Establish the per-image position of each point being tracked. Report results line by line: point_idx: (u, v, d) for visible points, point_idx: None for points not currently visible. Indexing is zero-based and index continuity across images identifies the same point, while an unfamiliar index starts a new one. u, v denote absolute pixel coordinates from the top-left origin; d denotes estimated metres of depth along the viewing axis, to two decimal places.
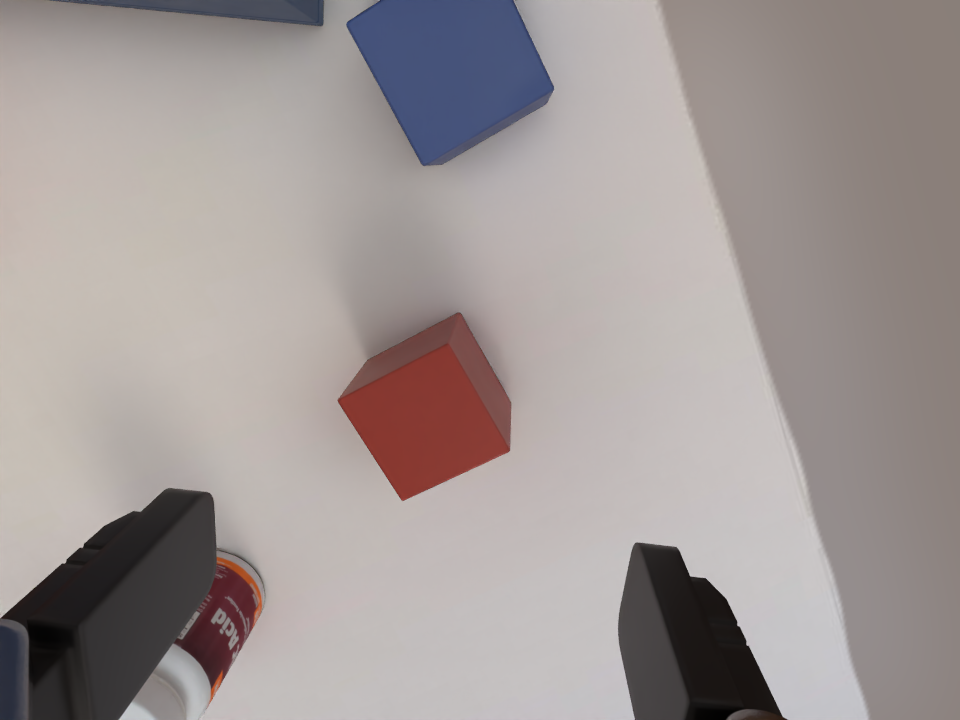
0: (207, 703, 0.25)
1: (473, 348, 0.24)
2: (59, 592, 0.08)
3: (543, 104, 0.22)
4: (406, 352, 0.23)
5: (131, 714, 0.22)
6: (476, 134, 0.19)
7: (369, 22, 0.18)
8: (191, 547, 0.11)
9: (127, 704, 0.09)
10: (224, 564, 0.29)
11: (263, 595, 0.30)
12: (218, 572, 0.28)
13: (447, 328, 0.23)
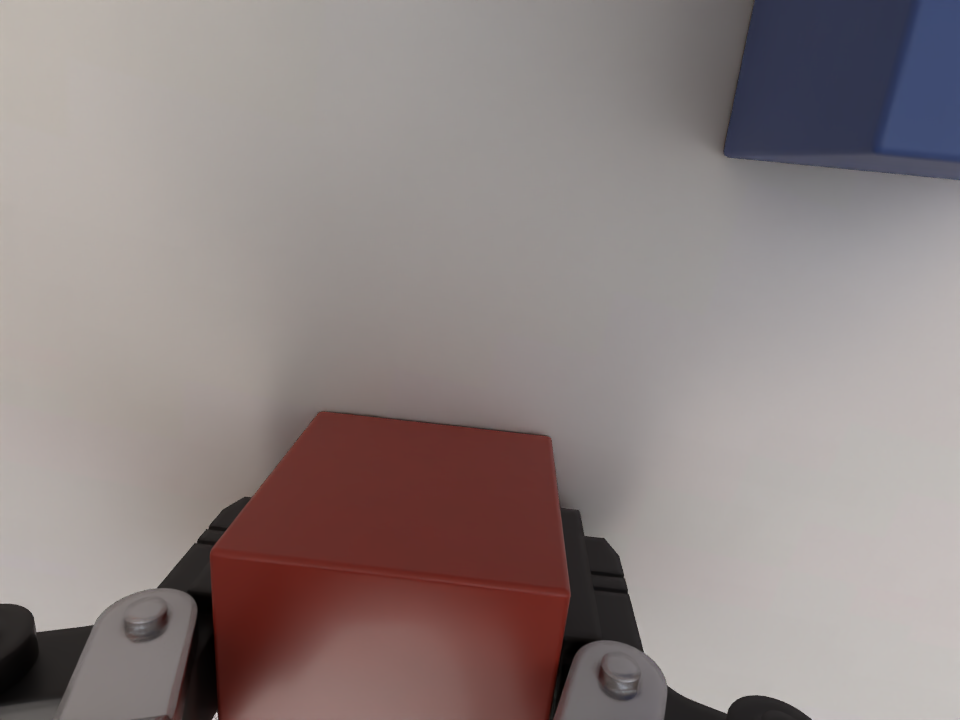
0: None
1: None
2: (208, 567, 0.09)
3: None
4: (429, 493, 0.09)
5: None
6: None
7: None
8: None
9: None
10: None
11: None
12: None
13: (538, 488, 0.10)
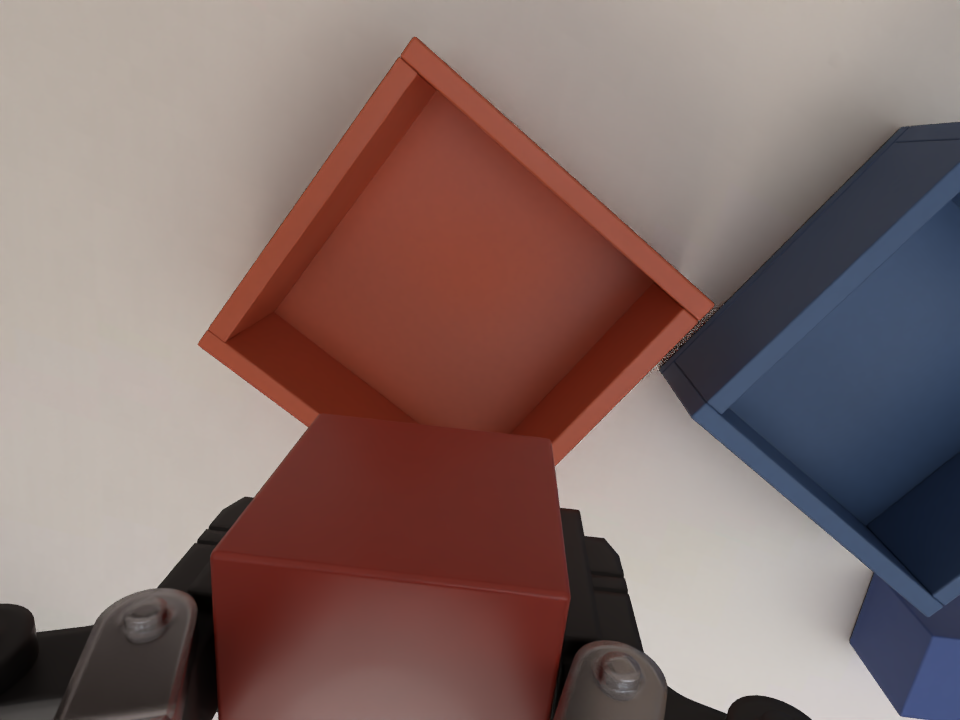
0: None
1: None
2: (208, 567, 0.09)
3: None
4: (429, 496, 0.09)
5: None
6: None
7: (945, 644, 0.27)
8: None
9: None
10: None
11: None
12: None
13: (538, 490, 0.10)
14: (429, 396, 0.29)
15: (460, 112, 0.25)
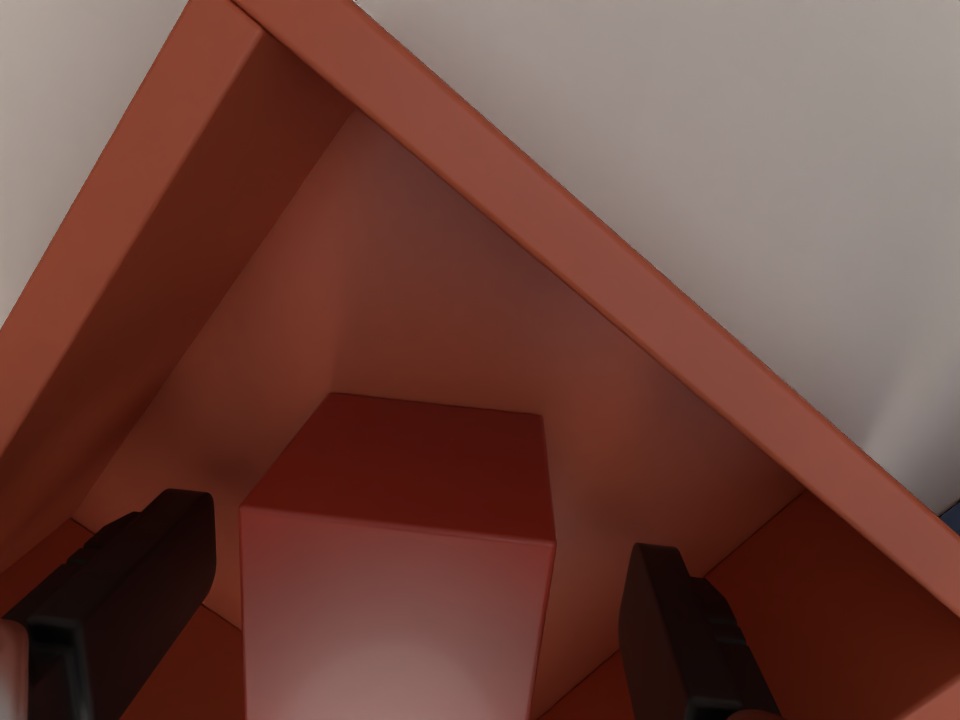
0: None
1: None
2: (59, 592, 0.08)
3: None
4: (431, 462, 0.10)
5: None
6: None
7: None
8: (192, 547, 0.11)
9: (127, 704, 0.09)
10: None
11: None
12: None
13: (530, 458, 0.11)
14: None
15: None
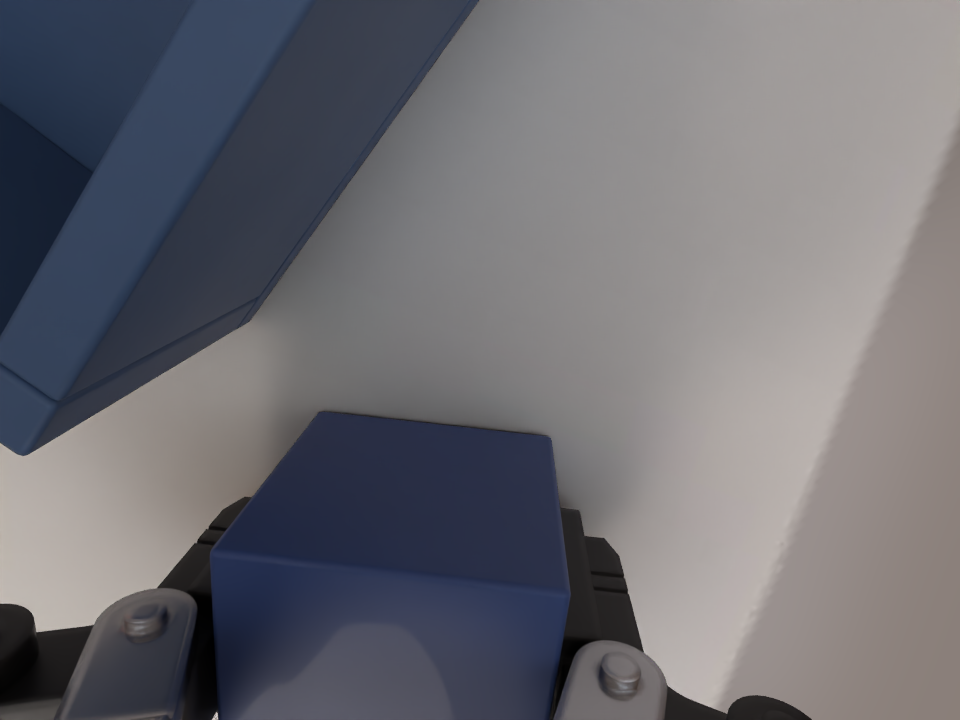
0: None
1: None
2: (208, 566, 0.09)
3: None
4: None
5: None
6: None
7: (258, 581, 0.08)
8: None
9: None
10: None
11: None
12: None
13: None
14: None
15: None
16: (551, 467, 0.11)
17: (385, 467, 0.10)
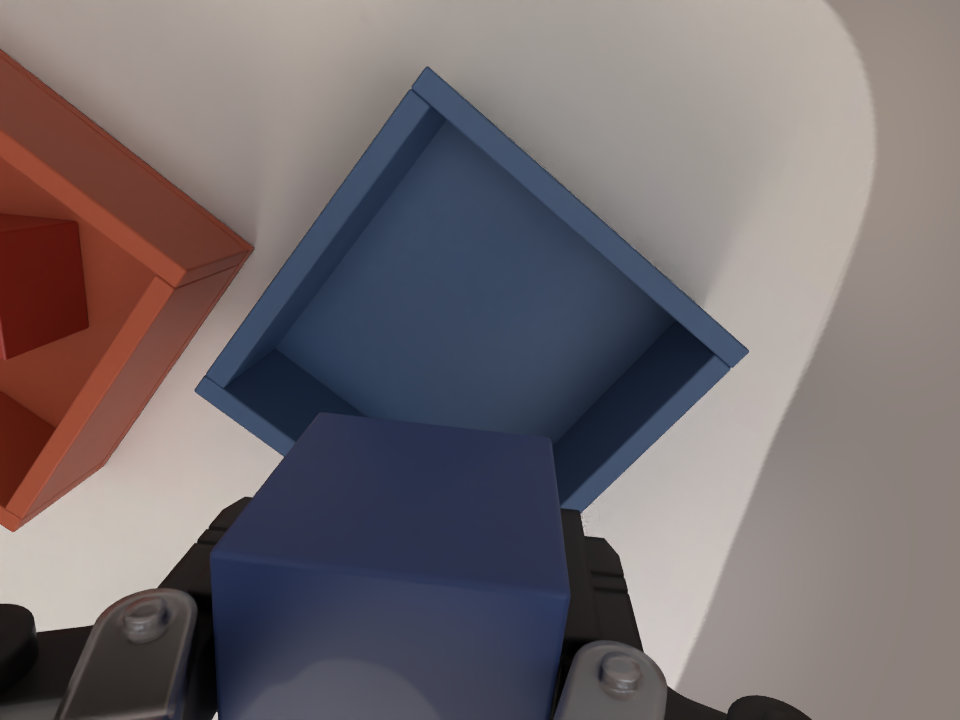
0: None
1: (59, 258, 0.24)
2: (208, 567, 0.09)
3: None
4: None
5: None
6: None
7: (258, 582, 0.08)
8: None
9: None
10: None
11: None
12: None
13: (31, 225, 0.23)
14: (24, 375, 0.28)
15: None
16: (551, 468, 0.11)
17: (385, 468, 0.10)
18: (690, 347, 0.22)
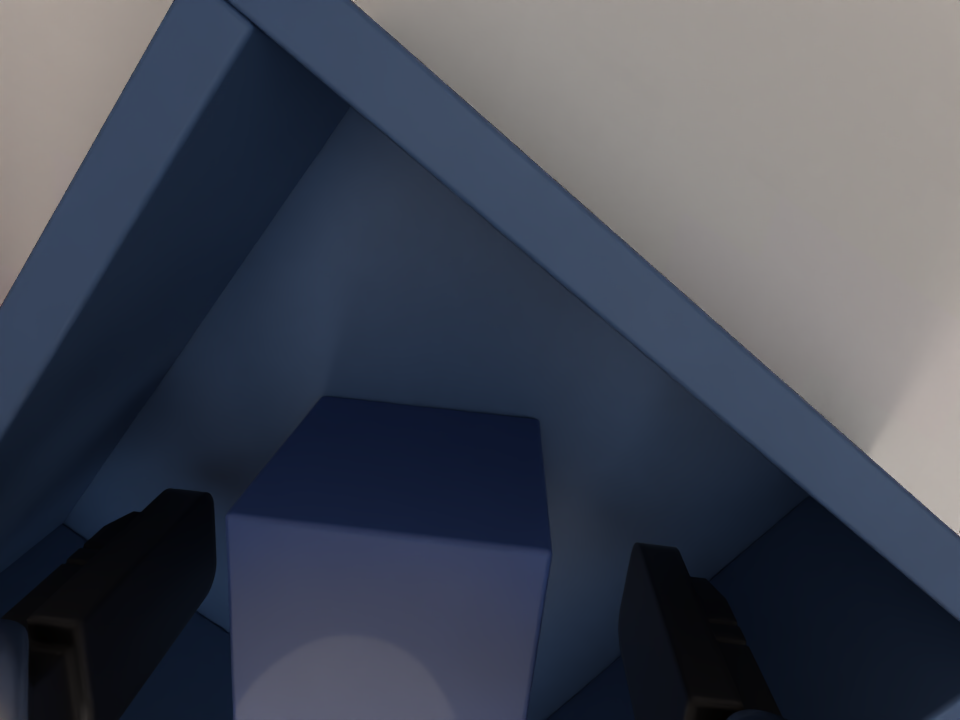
0: None
1: None
2: (59, 592, 0.08)
3: None
4: None
5: None
6: None
7: (269, 542, 0.09)
8: (192, 546, 0.11)
9: (127, 704, 0.09)
10: None
11: None
12: None
13: None
14: None
15: None
16: (538, 446, 0.11)
17: (384, 445, 0.11)
18: (898, 591, 0.10)
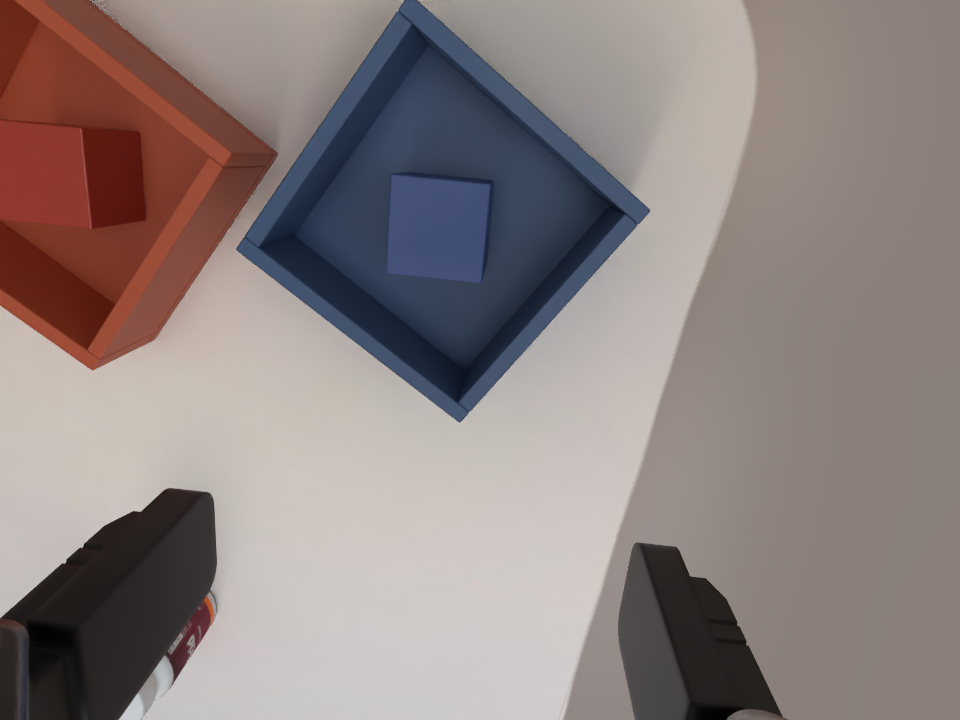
0: (161, 696, 0.37)
1: (127, 158, 0.31)
2: (58, 592, 0.08)
3: None
4: (66, 125, 0.30)
5: None
6: (425, 277, 0.29)
7: (403, 183, 0.28)
8: (192, 547, 0.11)
9: (127, 704, 0.09)
10: None
11: (211, 623, 0.42)
12: None
13: (108, 129, 0.30)
14: (93, 261, 0.35)
15: None
16: (491, 181, 0.31)
17: (435, 175, 0.30)
18: (612, 217, 0.29)
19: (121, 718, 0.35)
